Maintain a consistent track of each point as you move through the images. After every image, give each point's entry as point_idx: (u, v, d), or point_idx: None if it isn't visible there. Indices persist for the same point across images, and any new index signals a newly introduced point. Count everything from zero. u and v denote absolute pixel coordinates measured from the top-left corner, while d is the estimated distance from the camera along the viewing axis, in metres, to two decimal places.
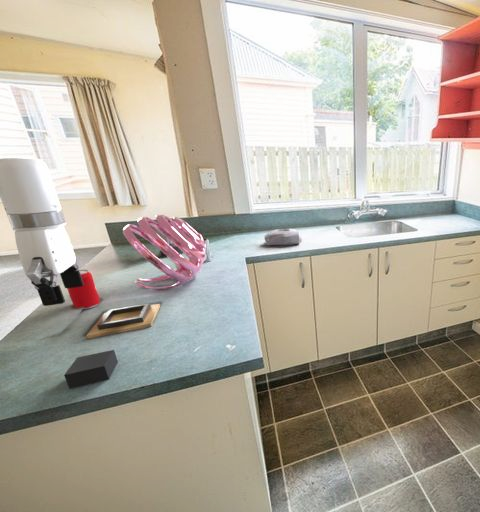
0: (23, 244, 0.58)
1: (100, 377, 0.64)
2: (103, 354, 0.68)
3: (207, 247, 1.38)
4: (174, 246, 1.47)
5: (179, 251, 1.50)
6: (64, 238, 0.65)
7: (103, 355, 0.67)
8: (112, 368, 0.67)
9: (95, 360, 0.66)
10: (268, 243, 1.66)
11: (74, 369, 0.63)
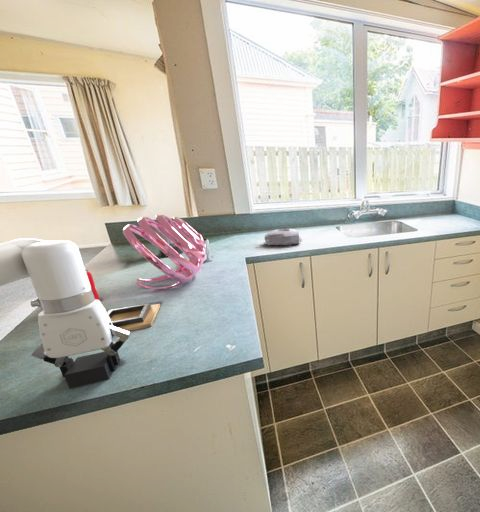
0: (100, 315, 0.63)
1: (100, 377, 0.64)
2: (103, 354, 0.68)
3: (207, 247, 1.38)
4: (174, 246, 1.47)
5: (179, 251, 1.50)
6: None
7: (103, 355, 0.67)
8: None
9: (95, 360, 0.66)
10: (268, 243, 1.66)
11: (74, 369, 0.63)
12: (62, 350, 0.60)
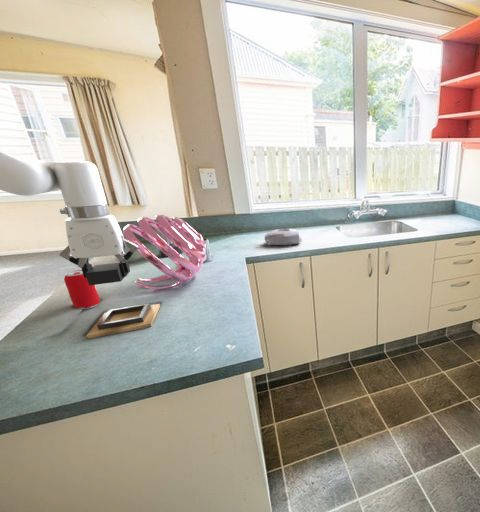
0: (114, 226, 0.77)
1: (114, 279, 0.78)
2: (116, 264, 0.82)
3: (207, 247, 1.38)
4: (174, 246, 1.47)
5: (179, 251, 1.50)
6: None
7: (116, 264, 0.82)
8: None
9: (109, 266, 0.80)
10: (268, 243, 1.66)
11: (93, 270, 0.77)
12: (84, 251, 0.75)
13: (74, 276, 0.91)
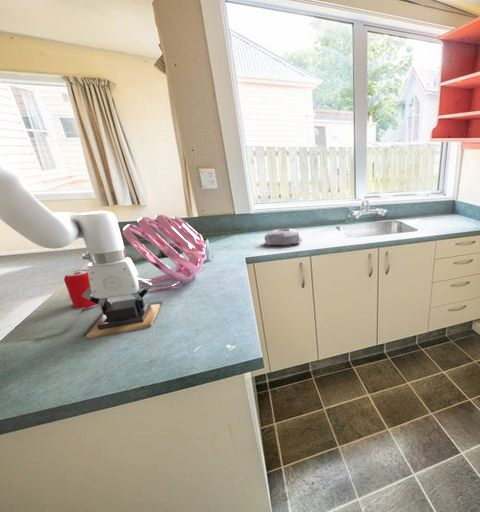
0: (131, 268, 0.84)
1: (131, 315, 0.86)
2: (132, 300, 0.89)
3: (207, 247, 1.38)
4: (174, 246, 1.47)
5: (179, 251, 1.50)
6: None
7: (132, 301, 0.89)
8: None
9: (126, 304, 0.87)
10: (268, 243, 1.66)
11: (112, 308, 0.84)
12: (104, 292, 0.82)
13: (74, 276, 0.91)
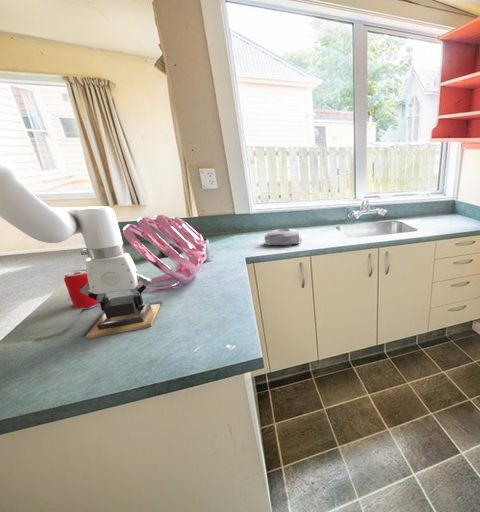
0: (130, 264, 0.84)
1: (129, 311, 0.85)
2: (130, 296, 0.89)
3: (207, 247, 1.38)
4: (174, 246, 1.47)
5: (179, 251, 1.50)
6: None
7: (130, 297, 0.88)
8: None
9: (125, 300, 0.87)
10: (268, 243, 1.66)
11: (110, 304, 0.84)
12: (102, 288, 0.81)
13: (74, 276, 0.91)
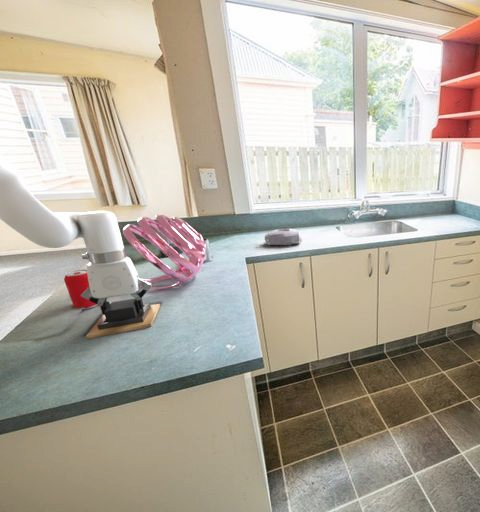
0: (131, 268, 0.84)
1: (130, 315, 0.86)
2: (131, 300, 0.89)
3: (207, 247, 1.38)
4: (174, 246, 1.47)
5: (179, 251, 1.50)
6: None
7: (131, 301, 0.89)
8: None
9: (125, 304, 0.87)
10: (268, 243, 1.66)
11: (111, 308, 0.84)
12: (103, 292, 0.82)
13: (74, 276, 0.91)
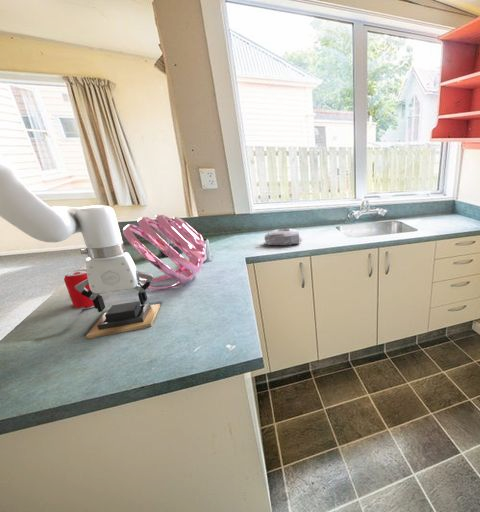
0: (130, 263, 0.84)
1: None
2: (132, 303, 0.89)
3: (207, 247, 1.38)
4: (174, 246, 1.47)
5: (179, 251, 1.50)
6: None
7: (132, 304, 0.89)
8: (138, 314, 0.89)
9: (126, 307, 0.87)
10: (268, 243, 1.66)
11: (111, 311, 0.84)
12: (102, 287, 0.81)
13: (74, 276, 0.91)
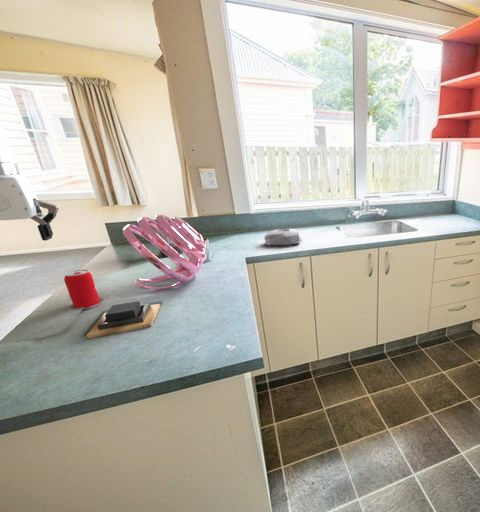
0: (24, 187, 0.71)
1: None
2: (132, 303, 0.89)
3: (207, 247, 1.38)
4: (174, 246, 1.47)
5: (179, 251, 1.50)
6: None
7: (132, 304, 0.89)
8: (138, 314, 0.89)
9: (126, 307, 0.87)
10: (268, 243, 1.66)
11: (111, 311, 0.84)
12: None
13: (74, 276, 0.91)
